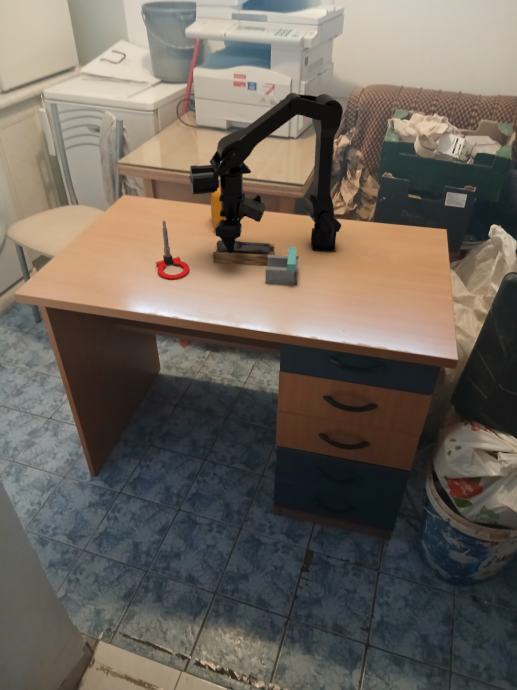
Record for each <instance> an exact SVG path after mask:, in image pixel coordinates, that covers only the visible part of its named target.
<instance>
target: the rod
mask: <svg viewBox="0 0 517 690" xmlns="http://www.w3.org/2000/svg"><path fill="white" fill-rule="evenodd" d="M217 241H218V247H217V246H216V249H217V250H218V252H228V250H227V248H226V247H225V245H224V243H223V241H222V240H221V239H220V240H217ZM270 244H271V243H269V242H257V241H256V242H254V241H241V240H240V241H237V240H235V245H234V251H233V253H246V254H265V255H269V253H270ZM228 253H229V252H228Z"/></svg>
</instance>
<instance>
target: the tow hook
mask: <svg viewBox="0 0 517 690" xmlns="http://www.w3.org/2000/svg"><path fill="white" fill-rule="evenodd" d="M166 224H167V223H166V221H165V220H162V237H163V246H164V247H163V252H164V253H163V254H164V255H162V257H163V259H162V260H158V261H156V262H155V266H156V267H157V269H156V271H157V275H158V276H159V277H160V278H162V279H164V280H167V281H175V280H181V279H183V278H186V277H187V276H188V275H189V274H190V269H191V268H190V265H189V264H188V263H187V262H185V261H182V260H181V257H180V256H176V257H173V255H172V254H171V247H170V245H169V234H168V228H167V226H166ZM170 265H174V266H179V267H180V268H182V269H183V270H182V271H181V272H180V273H177V274H176V273H175V274H169V273H166V272H165V271H164V270H165V269H166V268H167V266H170Z"/></svg>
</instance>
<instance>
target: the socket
mask: <svg viewBox="0 0 517 690" xmlns="http://www.w3.org/2000/svg"><path fill="white" fill-rule="evenodd" d="M287 261H288V255H283V254H282V255H281V254H274V255H268V264H267V266H266V267H265V281H264V283H265V284H266V285H281V286H282V285H283V286H297V283H298V269H299V256H298V255H296V263H295V272H293V271H287Z"/></svg>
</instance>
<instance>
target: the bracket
mask: <svg viewBox="0 0 517 690" xmlns="http://www.w3.org/2000/svg"><path fill="white" fill-rule="evenodd" d="M220 194H221V191H220V186H219V188H217V191H215V193H210V216H211V219H212V225H213V228H214V230H215V228H216V226H217V223H218V222H219V221H220V220H226V219H225V217H222V216H220V211H221V201H219V197H220Z"/></svg>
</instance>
